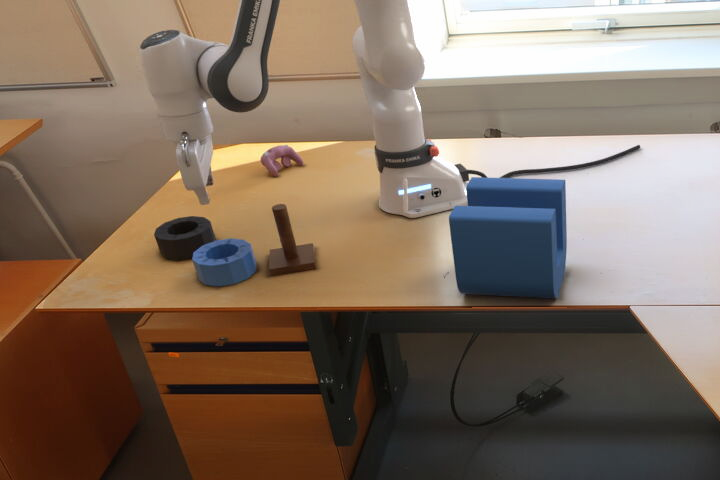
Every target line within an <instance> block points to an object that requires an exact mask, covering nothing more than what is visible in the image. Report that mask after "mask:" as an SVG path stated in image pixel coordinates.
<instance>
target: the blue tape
mask: <svg viewBox="0 0 720 480" xmlns="http://www.w3.org/2000/svg"><path fill="white" fill-rule="evenodd" d="M191 260H192V263H193V266H194V269H195V272H196V275H197V278H198V280H199V281H200V282H201V283H202V284H203V285H205V286H211V287H219V288H220V287H224V286H225V287H226V286H231V285H237V284H238V283H240V282H243V281H246V280H248V279H249V278H251V276H252V275H254V274H255V273H256V272H257V268H258V267H257V265H258V264H257V260H256V257H255V254H254V250H253V247H252V244H251V243H250V242H248V241H246V240H245V239H240V238H225V239H216V241H214V242H211V243H208V244H206V245H203V246H201V247H200V248H199V249H198V250H196V251H195V252H194V253H193V258H192V259H191Z"/></svg>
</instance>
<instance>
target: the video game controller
mask: <svg viewBox="0 0 720 480" xmlns="http://www.w3.org/2000/svg"><path fill="white" fill-rule="evenodd" d="M278 159H280V162H279V161H278ZM291 161H293V163H295V164H297V165H298V166H301V167H302V166H304V160H303V158H302V156H301V155H300V154H298V152H296V151H295V149H294V148H293V147H292V146H289V145H288V144H282V145H277V146H272V147H271V148H269V149H268V150H266V151H265V152H264V153H262V155H261V157H260V163H261V164H262V166H264V167H265V169H266V170H267V171H268V172H269V173H270V174H271V175H272V176H274V177H279V171H280V170H282V166H283V167H284V168H288V167H290V166H291V163H292V162H291Z"/></svg>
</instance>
